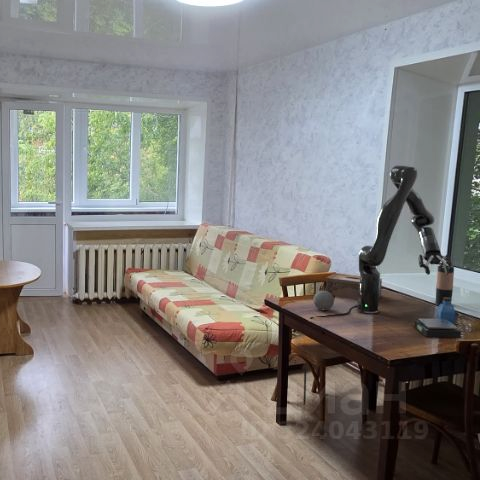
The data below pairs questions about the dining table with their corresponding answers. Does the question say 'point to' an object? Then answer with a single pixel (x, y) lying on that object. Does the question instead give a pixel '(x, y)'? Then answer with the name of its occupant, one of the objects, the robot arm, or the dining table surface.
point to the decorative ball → (323, 300)
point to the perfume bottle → (446, 311)
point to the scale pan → (437, 324)
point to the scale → (437, 331)
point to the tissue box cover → (345, 285)
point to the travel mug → (444, 284)
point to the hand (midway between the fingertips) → (438, 273)
